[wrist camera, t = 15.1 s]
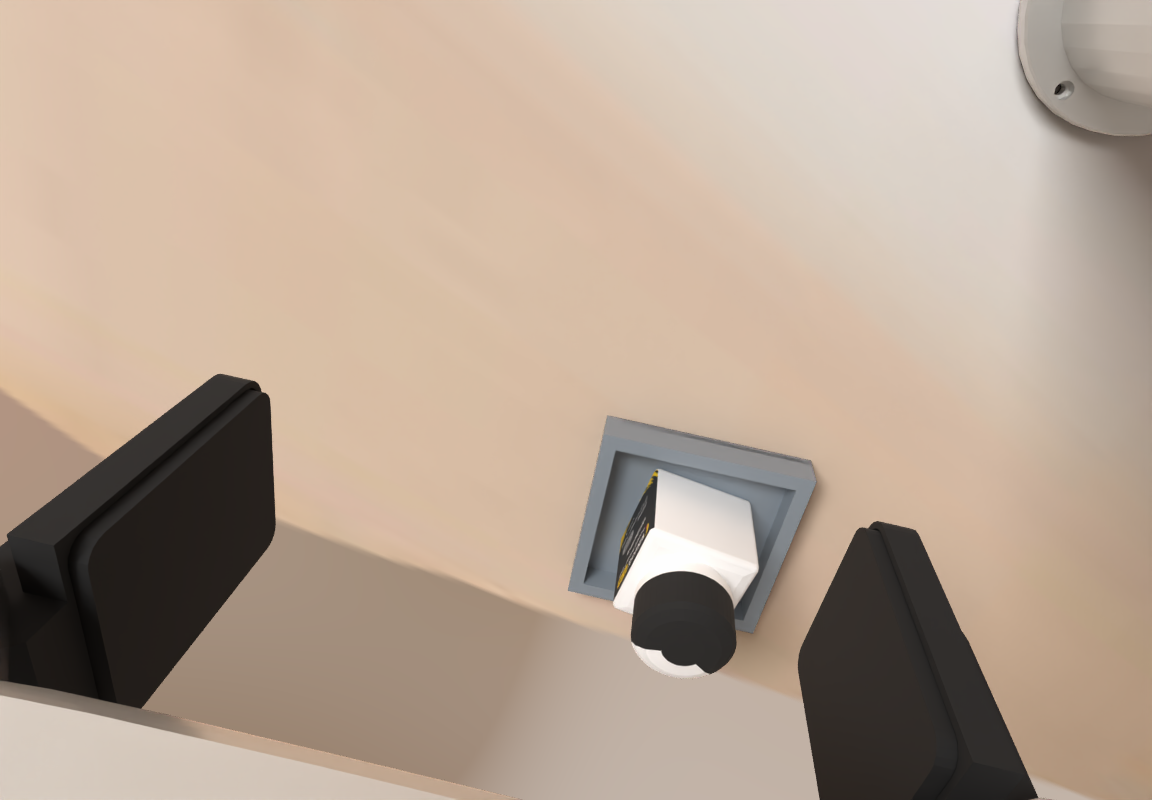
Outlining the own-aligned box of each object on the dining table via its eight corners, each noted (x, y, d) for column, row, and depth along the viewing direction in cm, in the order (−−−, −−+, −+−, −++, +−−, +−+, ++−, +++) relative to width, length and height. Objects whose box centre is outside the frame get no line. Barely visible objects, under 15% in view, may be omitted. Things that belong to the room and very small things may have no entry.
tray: (810, 460, 48) (816, 481, 46) (750, 609, 55) (752, 633, 53) (607, 415, 49) (603, 434, 46) (572, 568, 55) (567, 590, 53)
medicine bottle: (656, 465, 49) (647, 586, 39) (752, 500, 50) (769, 630, 39) (619, 539, 53) (602, 669, 42) (709, 571, 53) (715, 708, 43)
